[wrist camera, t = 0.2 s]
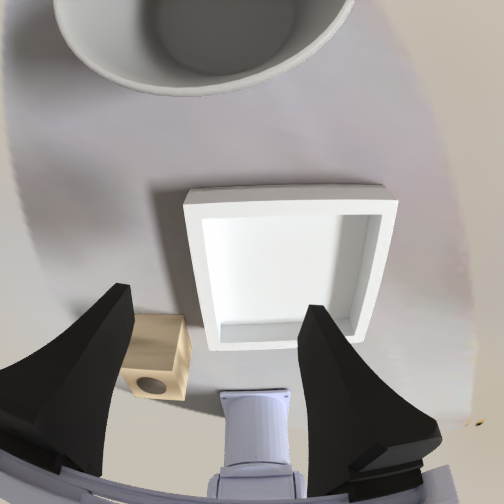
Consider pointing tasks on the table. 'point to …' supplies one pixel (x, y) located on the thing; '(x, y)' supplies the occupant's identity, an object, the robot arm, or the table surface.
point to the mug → (196, 40)
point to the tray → (286, 258)
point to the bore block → (158, 357)
